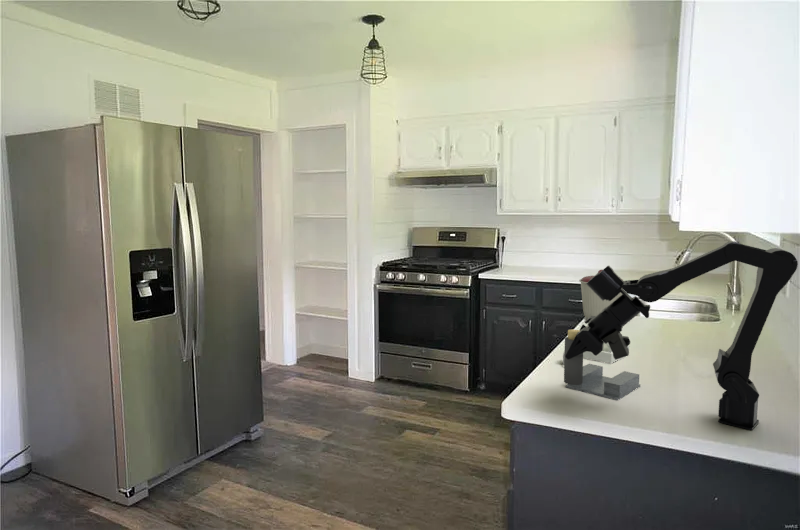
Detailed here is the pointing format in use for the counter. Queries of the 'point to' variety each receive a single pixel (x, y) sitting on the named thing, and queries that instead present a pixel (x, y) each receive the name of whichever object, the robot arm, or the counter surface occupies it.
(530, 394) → the counter surface
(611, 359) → the parts tray
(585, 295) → the canister
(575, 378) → the grey and tan cylinder
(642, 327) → the counter surface
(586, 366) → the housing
